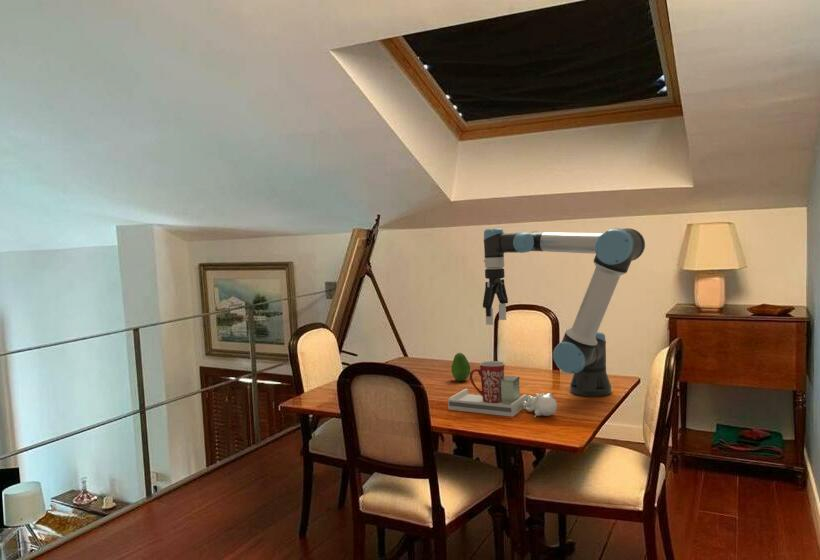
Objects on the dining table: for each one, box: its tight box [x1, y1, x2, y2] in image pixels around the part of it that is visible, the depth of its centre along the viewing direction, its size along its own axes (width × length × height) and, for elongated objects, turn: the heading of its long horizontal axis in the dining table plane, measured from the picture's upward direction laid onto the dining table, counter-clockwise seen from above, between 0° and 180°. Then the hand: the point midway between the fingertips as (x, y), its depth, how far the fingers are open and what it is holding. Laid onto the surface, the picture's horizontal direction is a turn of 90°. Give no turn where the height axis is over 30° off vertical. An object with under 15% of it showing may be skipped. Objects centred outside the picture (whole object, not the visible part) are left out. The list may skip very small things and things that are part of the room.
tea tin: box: [501, 375, 521, 405], centre depth 214 cm, size 5×6×9 cm
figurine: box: [522, 391, 558, 418], centre depth 208 cm, size 11×7×15 cm
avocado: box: [451, 352, 471, 382], centre depth 260 cm, size 8×8×12 cm
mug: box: [469, 360, 506, 403], centre depth 219 cm, size 13×9×14 cm
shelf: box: [447, 388, 528, 418], centre depth 218 cm, size 24×15×4 cm, turn 60°
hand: (496, 322), depth 242 cm, fingers open, 13 cm apart
